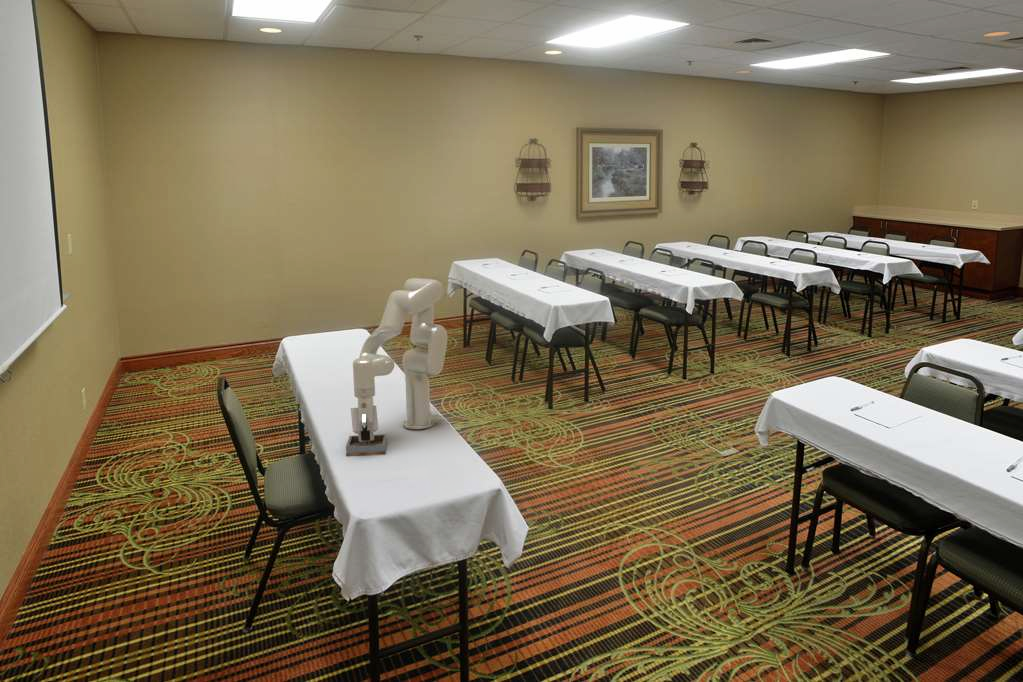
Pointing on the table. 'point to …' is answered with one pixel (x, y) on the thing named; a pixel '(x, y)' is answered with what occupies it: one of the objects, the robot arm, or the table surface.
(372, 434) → the charger
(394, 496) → the table surface
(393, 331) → the robot arm
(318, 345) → the table surface
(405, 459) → the table surface
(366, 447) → the tray
